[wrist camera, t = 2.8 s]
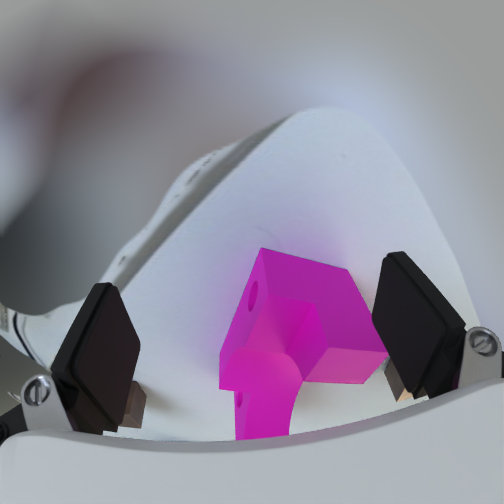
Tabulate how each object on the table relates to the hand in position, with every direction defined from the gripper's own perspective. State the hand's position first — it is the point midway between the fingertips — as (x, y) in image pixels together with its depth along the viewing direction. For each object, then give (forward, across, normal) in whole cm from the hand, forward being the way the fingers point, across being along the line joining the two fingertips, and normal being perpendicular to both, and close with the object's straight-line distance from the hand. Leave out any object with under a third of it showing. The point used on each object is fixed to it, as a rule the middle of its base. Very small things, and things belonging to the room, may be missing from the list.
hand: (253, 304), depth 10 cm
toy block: (+8, -1, +10) cm, 13 cm away
